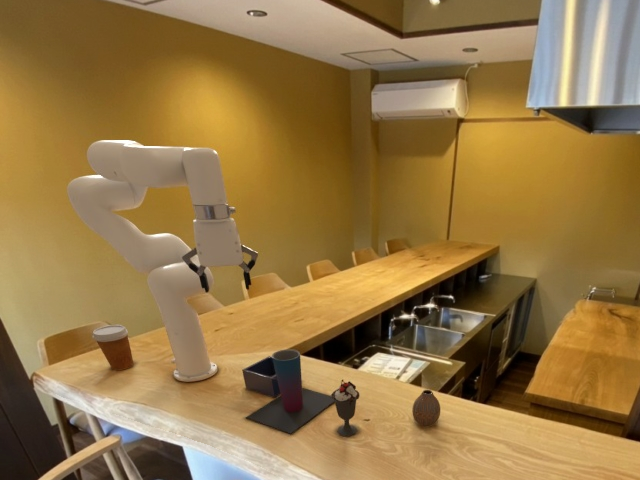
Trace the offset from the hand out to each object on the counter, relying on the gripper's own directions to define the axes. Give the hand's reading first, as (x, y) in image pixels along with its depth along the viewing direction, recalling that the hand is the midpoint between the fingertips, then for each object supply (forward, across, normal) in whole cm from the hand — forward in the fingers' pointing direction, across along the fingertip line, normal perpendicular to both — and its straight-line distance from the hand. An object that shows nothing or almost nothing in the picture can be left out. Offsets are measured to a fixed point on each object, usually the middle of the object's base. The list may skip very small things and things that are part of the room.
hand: (227, 289), depth 105 cm
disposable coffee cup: (+29, +39, -28) cm, 56 cm away
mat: (+28, -12, +14) cm, 34 cm away
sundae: (+28, -23, +29) cm, 47 cm away
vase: (+28, -43, +30) cm, 60 cm away
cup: (+28, -12, +14) cm, 34 cm away
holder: (+28, -7, -1) cm, 29 cm away
